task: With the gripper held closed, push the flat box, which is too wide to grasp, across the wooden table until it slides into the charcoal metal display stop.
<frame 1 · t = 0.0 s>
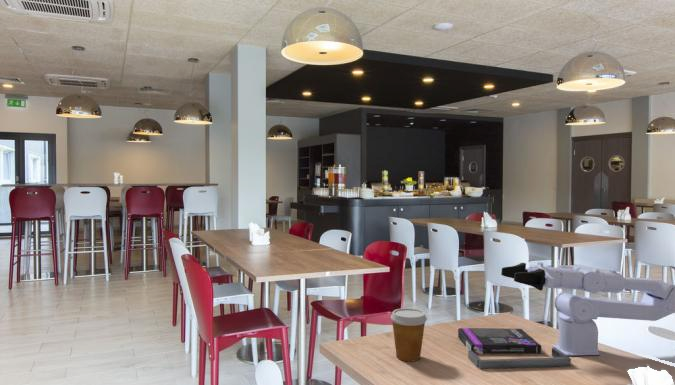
hand: (508, 274, 131), 22 cm above the table, tool horizontal, fingers open, 7 cm apart
display stop: (519, 362, 125), on the table
box: (497, 347, 138), on the table
disposable coffee cup: (408, 357, 128), on the table
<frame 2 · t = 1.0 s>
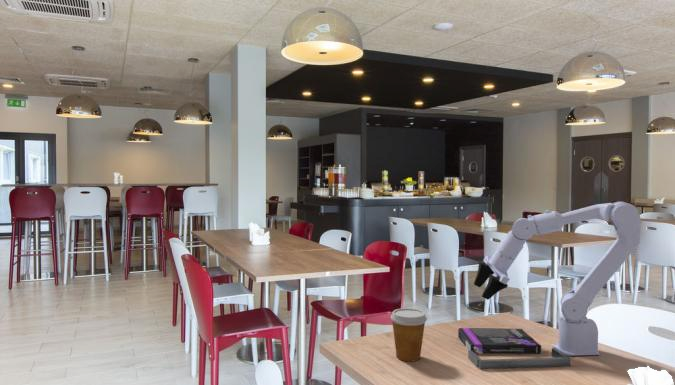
hand: (480, 291, 143), 14 cm above the table, tool tilted 30°, fingers open, 7 cm apart
nothing on the table moved.
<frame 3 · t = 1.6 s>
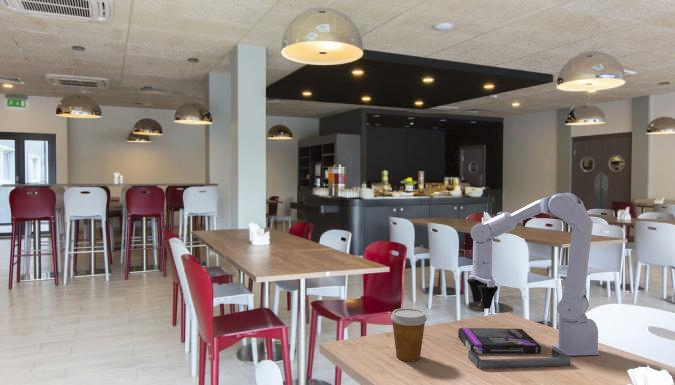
hand: (481, 305, 149), 8 cm above the table, tool pointing down, fingers open, 7 cm apart
nothing on the table moved.
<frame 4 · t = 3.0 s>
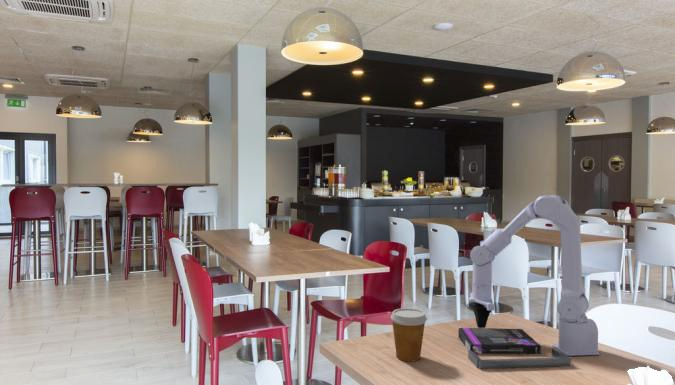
hand: (481, 327, 149), 1 cm above the table, tool pointing down, fingers closed
nothing on the table moved.
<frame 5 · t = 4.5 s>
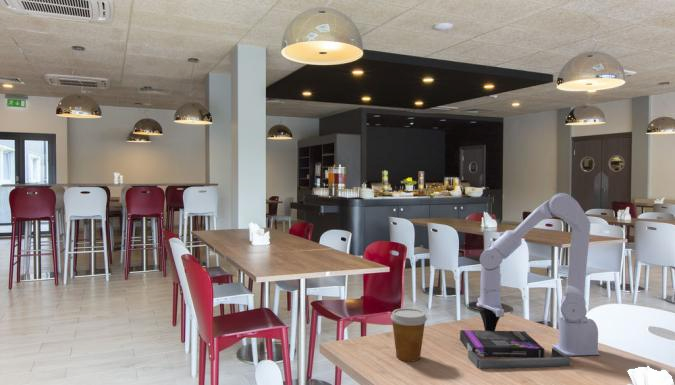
hand: (489, 334, 143), 1 cm above the table, tool pointing down, fingers closed
box: (499, 350, 135), on the table, touching gripper
everything else where it was.
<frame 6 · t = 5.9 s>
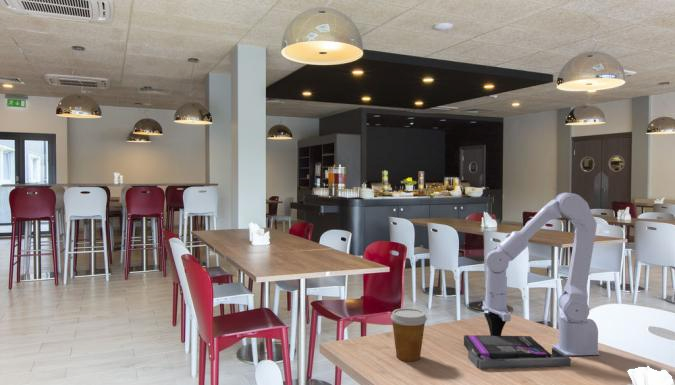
hand: (495, 338, 139), 1 cm above the table, tool pointing down, fingers closed
box: (505, 356, 131), on the table
everything else where it was.
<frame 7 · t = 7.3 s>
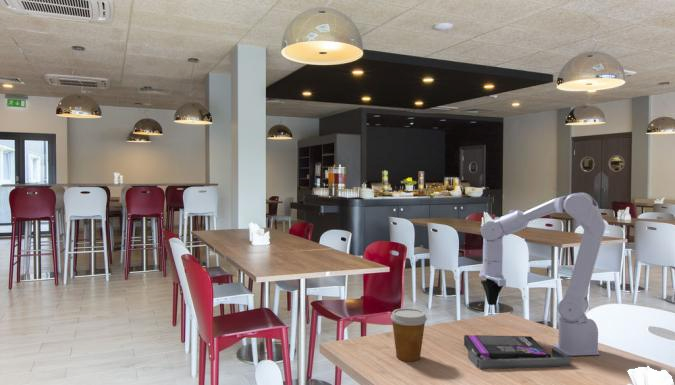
hand: (491, 304, 146), 9 cm above the table, tool pointing down, fingers closed
nothing on the table moved.
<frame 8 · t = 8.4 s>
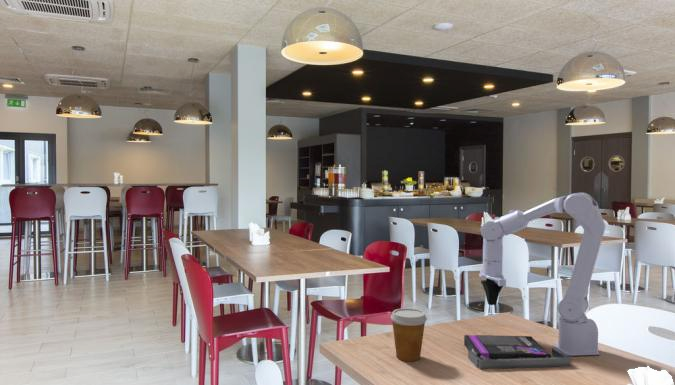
hand: (491, 304, 146), 9 cm above the table, tool pointing down, fingers closed
nothing on the table moved.
at the end: box 0.7 cm from the target spot, on the table; box tilted 2°; disposable coffee cup moved 0.2 cm from its start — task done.
